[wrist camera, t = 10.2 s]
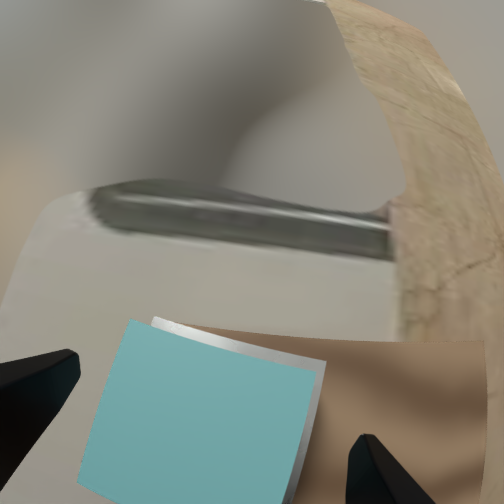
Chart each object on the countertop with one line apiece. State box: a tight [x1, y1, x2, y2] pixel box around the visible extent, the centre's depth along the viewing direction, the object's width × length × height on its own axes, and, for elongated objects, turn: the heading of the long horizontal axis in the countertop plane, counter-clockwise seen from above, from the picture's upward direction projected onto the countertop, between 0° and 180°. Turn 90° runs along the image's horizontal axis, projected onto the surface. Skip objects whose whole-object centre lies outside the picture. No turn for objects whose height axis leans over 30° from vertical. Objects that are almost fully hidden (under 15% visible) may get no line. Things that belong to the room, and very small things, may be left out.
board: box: [174, 322, 487, 504], centre depth 13 cm, size 19×23×1 cm
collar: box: [151, 316, 326, 504], centre depth 13 cm, size 8×8×4 cm
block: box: [77, 319, 316, 504], centre depth 10 cm, size 4×4×11 cm
